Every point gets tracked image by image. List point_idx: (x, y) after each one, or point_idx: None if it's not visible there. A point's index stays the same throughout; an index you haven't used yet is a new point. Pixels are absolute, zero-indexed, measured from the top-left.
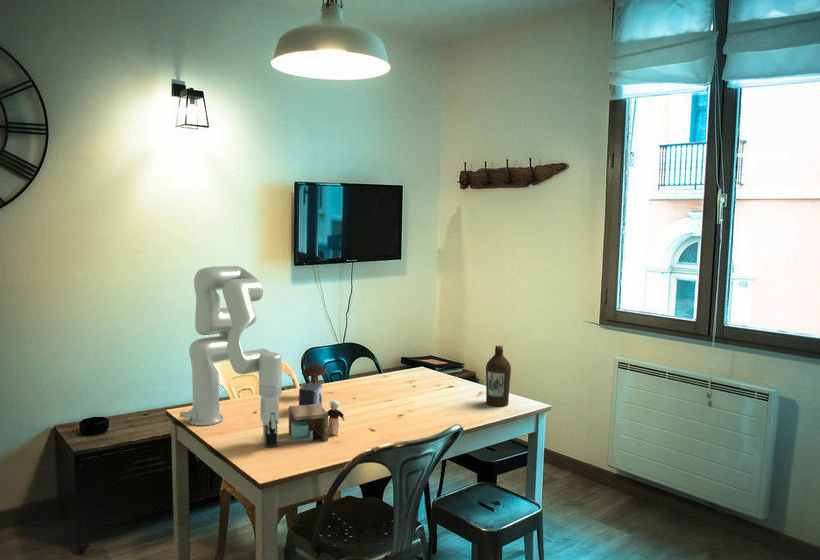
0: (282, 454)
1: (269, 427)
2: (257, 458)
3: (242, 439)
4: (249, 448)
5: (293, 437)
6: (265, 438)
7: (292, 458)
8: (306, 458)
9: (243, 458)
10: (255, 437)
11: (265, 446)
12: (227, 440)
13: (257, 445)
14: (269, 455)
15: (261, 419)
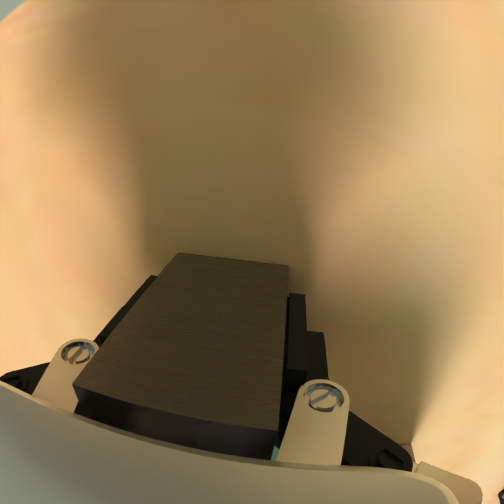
0: (41, 311)
1: (93, 419)
2: (5, 152)
3: (486, 126)
4: (208, 111)
5: (275, 454)
6: (142, 296)
7: (3, 327)
8: (10, 370)
9: (27, 59)
10: (478, 247)
11: (176, 259)
12: (497, 13)
13: (265, 203)
14: (31, 237)
15: (190, 492)
